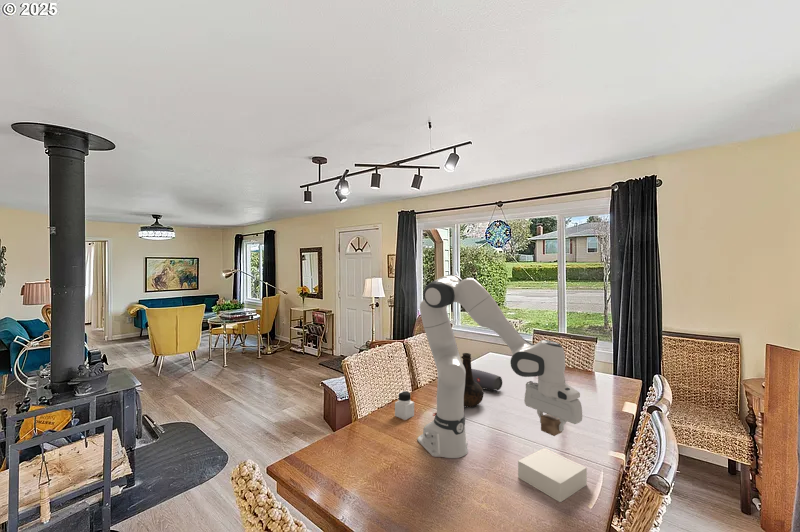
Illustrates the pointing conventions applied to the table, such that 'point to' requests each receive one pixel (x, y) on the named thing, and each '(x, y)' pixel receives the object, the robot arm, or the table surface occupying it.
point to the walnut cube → (550, 424)
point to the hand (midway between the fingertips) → (551, 426)
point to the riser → (552, 474)
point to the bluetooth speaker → (487, 380)
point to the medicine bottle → (404, 406)
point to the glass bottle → (471, 385)
